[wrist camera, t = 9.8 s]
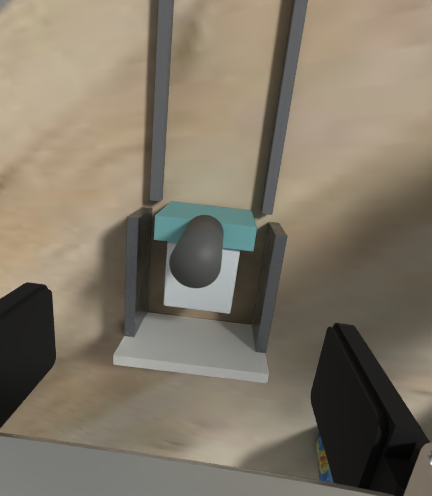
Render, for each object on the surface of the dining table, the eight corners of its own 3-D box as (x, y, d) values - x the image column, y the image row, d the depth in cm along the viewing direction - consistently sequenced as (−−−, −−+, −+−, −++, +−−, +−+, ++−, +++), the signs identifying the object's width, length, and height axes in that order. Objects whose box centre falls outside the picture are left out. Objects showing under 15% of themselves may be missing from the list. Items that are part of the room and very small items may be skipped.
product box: (175, 274, 34) (160, 306, 27) (179, 220, 32) (165, 239, 25) (230, 281, 34) (230, 315, 27) (238, 227, 32) (241, 249, 25)
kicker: (252, 205, 31) (268, 248, 17) (247, 234, 32) (260, 296, 18) (171, 196, 31) (126, 231, 17) (169, 225, 32) (125, 280, 18)
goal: (278, 223, 32) (294, 246, 24) (259, 333, 36) (267, 383, 28) (142, 207, 32) (114, 224, 24) (138, 318, 36) (113, 364, 28)
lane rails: (313, -45, 25) (317, -54, 24) (270, 212, 31) (272, 214, 30) (164, -61, 25) (161, -71, 24) (152, 198, 31) (149, 200, 30)
